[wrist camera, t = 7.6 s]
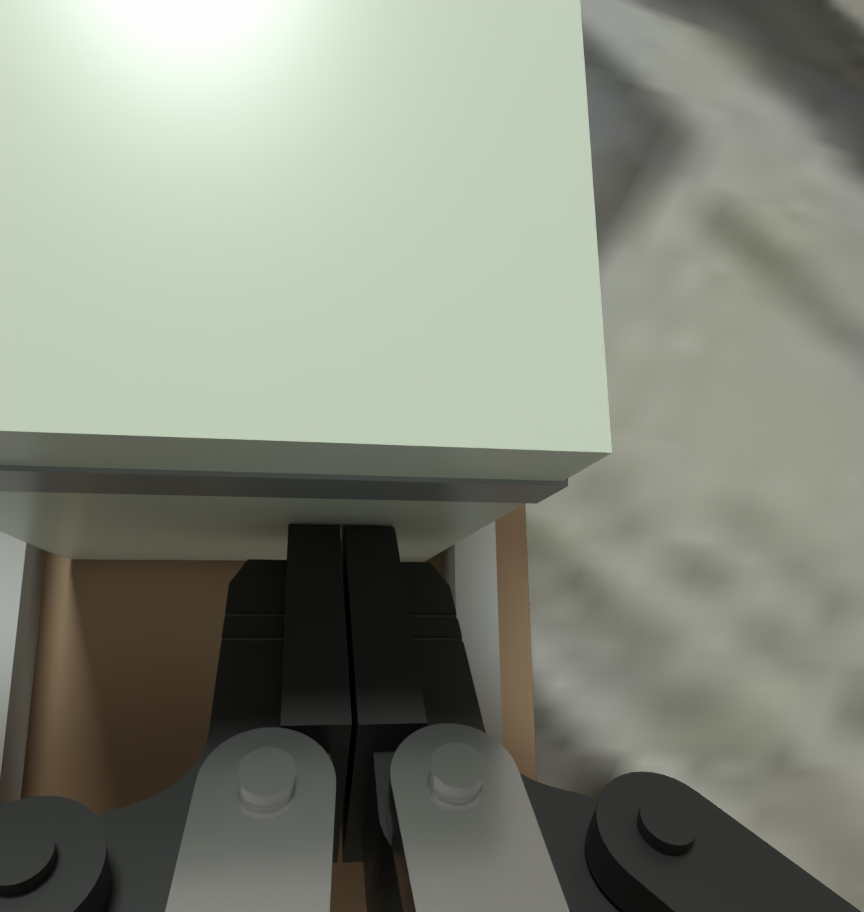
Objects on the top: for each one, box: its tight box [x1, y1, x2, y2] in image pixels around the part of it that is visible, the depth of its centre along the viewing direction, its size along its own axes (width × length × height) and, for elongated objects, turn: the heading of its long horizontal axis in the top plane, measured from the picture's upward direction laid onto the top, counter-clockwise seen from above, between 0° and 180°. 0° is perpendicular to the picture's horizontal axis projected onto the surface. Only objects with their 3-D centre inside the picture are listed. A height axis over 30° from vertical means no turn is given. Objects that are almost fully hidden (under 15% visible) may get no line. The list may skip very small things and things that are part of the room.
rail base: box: [0, 503, 537, 912], centre depth 13 cm, size 28×11×7 cm, turn 1°
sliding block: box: [0, 0, 612, 562], centre depth 11 cm, size 6×7×9 cm
